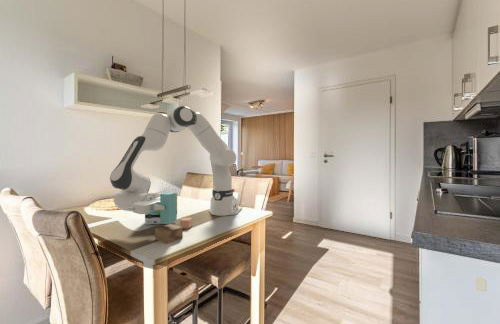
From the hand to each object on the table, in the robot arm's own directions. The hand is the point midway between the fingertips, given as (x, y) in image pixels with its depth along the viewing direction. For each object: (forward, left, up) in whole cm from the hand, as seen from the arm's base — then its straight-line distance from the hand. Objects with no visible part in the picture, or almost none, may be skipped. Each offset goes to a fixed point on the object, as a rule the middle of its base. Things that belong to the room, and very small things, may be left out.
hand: (169, 206), depth 104 cm
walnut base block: (0, -1, -14) cm, 15 cm away
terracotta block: (-16, -4, -14) cm, 22 cm away
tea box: (-18, -21, -14) cm, 31 cm away
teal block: (0, -1, -7) cm, 7 cm away
